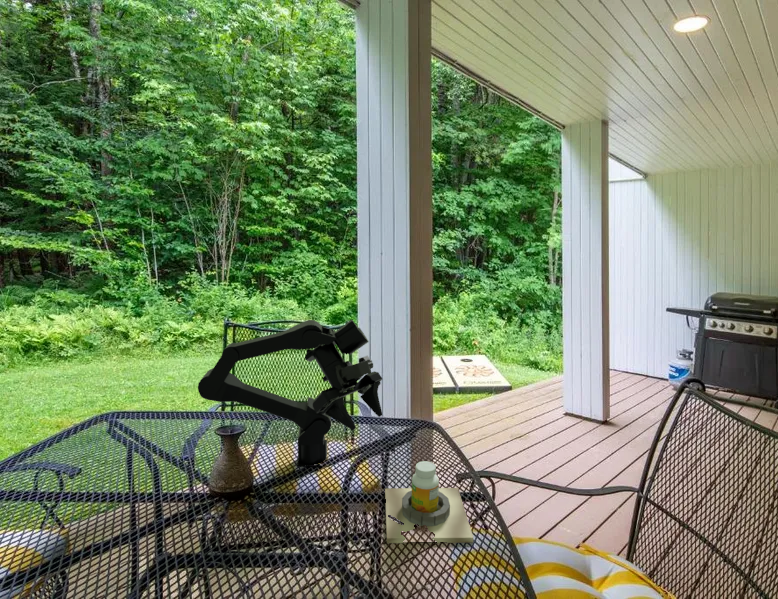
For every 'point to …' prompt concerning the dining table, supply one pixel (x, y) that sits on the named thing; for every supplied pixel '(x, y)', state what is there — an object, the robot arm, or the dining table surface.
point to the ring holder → (427, 516)
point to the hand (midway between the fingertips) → (368, 422)
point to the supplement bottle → (425, 488)
